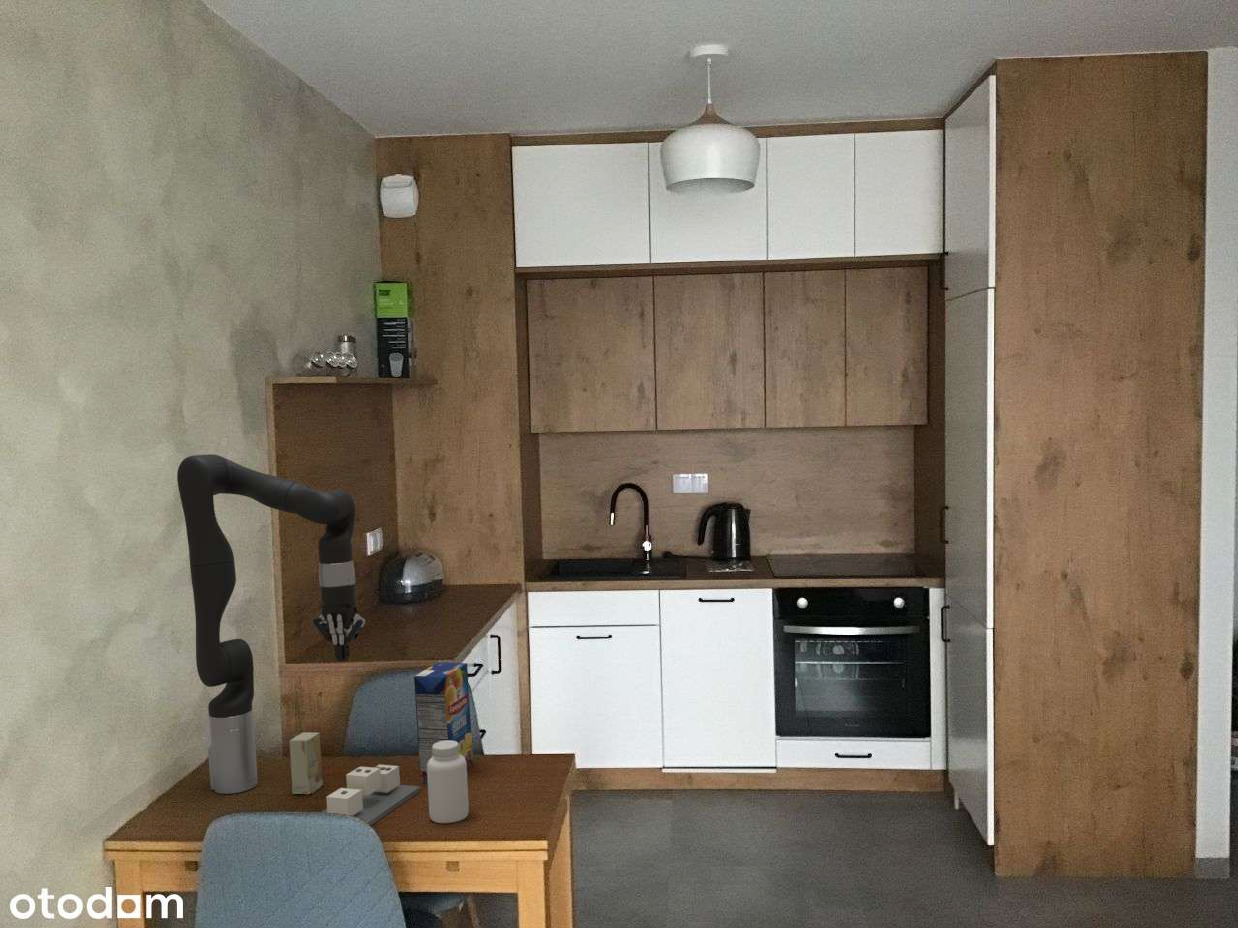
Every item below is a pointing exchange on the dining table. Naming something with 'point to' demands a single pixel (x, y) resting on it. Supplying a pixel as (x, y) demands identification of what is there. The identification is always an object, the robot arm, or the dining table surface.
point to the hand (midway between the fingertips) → (342, 660)
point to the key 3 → (388, 777)
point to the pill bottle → (447, 783)
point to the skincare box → (306, 763)
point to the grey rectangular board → (384, 802)
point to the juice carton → (443, 711)
